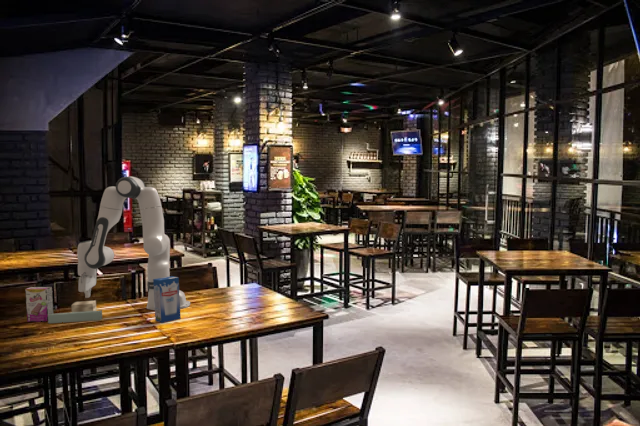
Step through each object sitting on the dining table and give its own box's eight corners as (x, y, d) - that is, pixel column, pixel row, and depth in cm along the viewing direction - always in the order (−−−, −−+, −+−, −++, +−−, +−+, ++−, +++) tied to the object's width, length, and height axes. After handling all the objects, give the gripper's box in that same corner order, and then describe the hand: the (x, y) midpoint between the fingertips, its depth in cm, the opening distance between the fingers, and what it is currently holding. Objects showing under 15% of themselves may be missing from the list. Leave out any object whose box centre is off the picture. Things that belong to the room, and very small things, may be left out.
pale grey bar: (102, 318, 264) (101, 310, 264) (100, 319, 261) (100, 311, 261) (50, 321, 261) (50, 313, 261) (48, 323, 258) (47, 315, 258)
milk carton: (174, 316, 262) (172, 276, 261) (180, 318, 258) (178, 277, 257) (155, 320, 255) (153, 279, 254) (161, 322, 251) (159, 280, 250)
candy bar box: (26, 322, 262) (24, 288, 261) (33, 319, 267) (31, 286, 266) (48, 322, 261) (46, 288, 260) (54, 319, 266) (52, 286, 265)
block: (96, 311, 280) (95, 300, 280) (93, 315, 272) (92, 303, 272) (75, 313, 278) (75, 301, 278) (72, 317, 270) (71, 305, 270)
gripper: (87, 274, 274) (88, 301, 275) (98, 268, 294) (99, 293, 295) (74, 274, 273) (75, 301, 274) (86, 268, 293) (87, 293, 294)
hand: (87, 297), depth 285 cm, fingers closed
